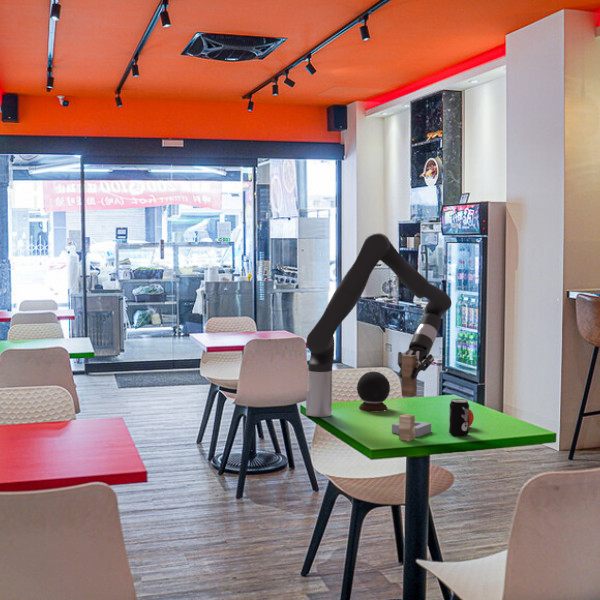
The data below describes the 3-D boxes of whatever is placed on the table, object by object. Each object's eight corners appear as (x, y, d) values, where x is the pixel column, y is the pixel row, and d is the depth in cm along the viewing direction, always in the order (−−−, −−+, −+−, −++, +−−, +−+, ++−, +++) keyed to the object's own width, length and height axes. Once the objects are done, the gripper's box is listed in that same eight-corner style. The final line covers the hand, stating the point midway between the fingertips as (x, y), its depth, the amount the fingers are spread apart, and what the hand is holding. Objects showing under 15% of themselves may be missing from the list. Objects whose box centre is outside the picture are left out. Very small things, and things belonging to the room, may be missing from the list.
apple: (476, 430, 281) (476, 407, 280) (453, 430, 280) (454, 407, 280) (469, 425, 289) (470, 403, 288) (447, 425, 288) (448, 403, 288)
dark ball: (385, 405, 325) (385, 369, 324) (393, 411, 312) (394, 373, 311) (353, 405, 323) (354, 369, 322) (360, 412, 310) (361, 374, 309)
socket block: (417, 437, 269) (417, 428, 269) (391, 432, 275) (391, 424, 275) (431, 432, 277) (431, 423, 277) (405, 428, 283) (405, 419, 283)
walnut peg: (411, 397, 272) (411, 356, 271) (401, 396, 274) (401, 355, 274) (416, 395, 275) (416, 355, 274) (407, 394, 277) (407, 354, 277)
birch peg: (408, 441, 263) (409, 417, 263) (398, 439, 265) (399, 415, 265) (414, 439, 266) (414, 415, 266) (404, 437, 268) (404, 414, 268)
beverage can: (457, 437, 269) (457, 402, 268) (445, 433, 275) (445, 399, 274) (472, 435, 272) (473, 401, 271) (460, 431, 278) (460, 397, 277)
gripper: (402, 331, 284) (384, 369, 275) (438, 333, 275) (421, 373, 266) (409, 345, 288) (392, 382, 279) (444, 347, 280) (428, 386, 271)
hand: (406, 377), depth 273 cm, fingers closed on walnut peg, 3 cm apart
